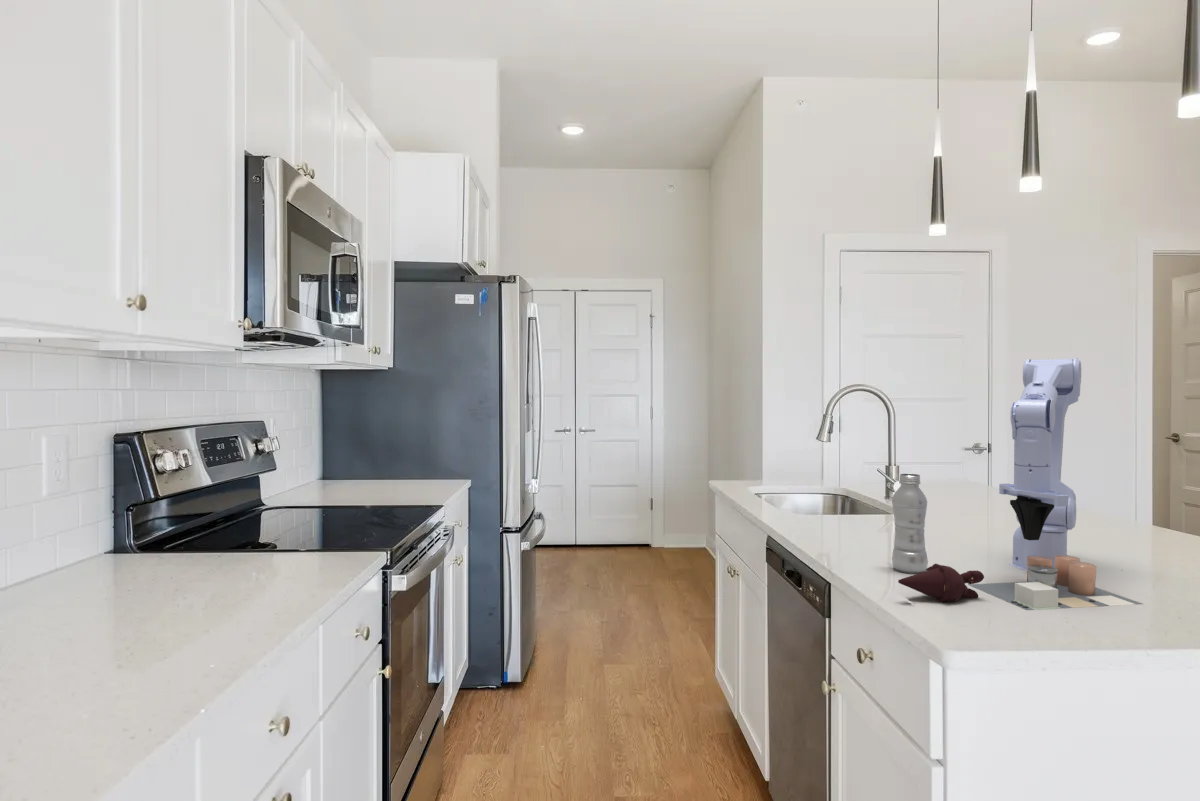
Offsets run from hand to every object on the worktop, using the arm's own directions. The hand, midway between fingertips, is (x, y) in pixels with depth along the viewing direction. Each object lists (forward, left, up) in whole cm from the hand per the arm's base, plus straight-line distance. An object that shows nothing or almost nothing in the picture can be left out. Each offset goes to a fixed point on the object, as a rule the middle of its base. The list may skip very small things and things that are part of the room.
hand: (1031, 539), depth 128 cm
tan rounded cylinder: (+2, +8, -9) cm, 12 cm away
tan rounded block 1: (-3, +4, -9) cm, 11 cm away
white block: (+7, -5, -9) cm, 13 cm away
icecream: (+2, -19, -10) cm, 22 cm away
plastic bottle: (-16, -14, -10) cm, 24 cm away
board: (+2, +2, -10) cm, 10 cm away
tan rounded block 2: (-3, +10, -9) cm, 14 cm away
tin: (+1, +2, -9) cm, 9 cm away
